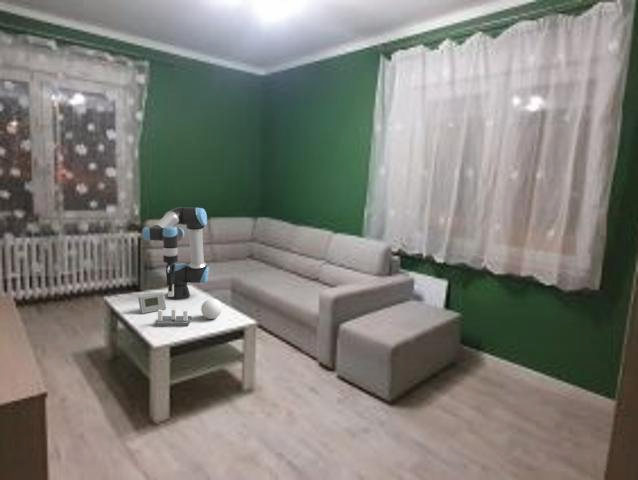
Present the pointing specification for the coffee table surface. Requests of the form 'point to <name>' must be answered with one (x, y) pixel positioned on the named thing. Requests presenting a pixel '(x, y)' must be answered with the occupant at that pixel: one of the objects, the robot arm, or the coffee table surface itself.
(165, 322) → the board
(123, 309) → the coffee table surface
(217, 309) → the decorative ball
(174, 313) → the breaker
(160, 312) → the breaker
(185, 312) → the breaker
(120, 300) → the coffee table surface
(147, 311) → the digital clock
